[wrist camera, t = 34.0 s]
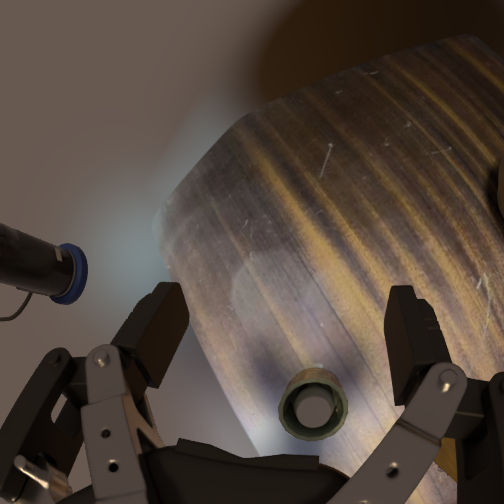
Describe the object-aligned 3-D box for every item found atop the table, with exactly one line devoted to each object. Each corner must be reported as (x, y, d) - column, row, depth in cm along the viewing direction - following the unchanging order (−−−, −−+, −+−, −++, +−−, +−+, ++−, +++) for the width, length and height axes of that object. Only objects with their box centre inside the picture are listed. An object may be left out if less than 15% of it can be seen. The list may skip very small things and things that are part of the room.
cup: (301, 427, 32) (296, 451, 25) (277, 382, 34) (266, 397, 27) (350, 403, 32) (359, 421, 24) (326, 357, 34) (329, 365, 26)
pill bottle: (298, 377, 34) (293, 390, 26) (334, 379, 33) (338, 392, 25) (295, 410, 32) (289, 430, 25) (330, 412, 32) (333, 433, 24)
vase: (454, 469, 25) (496, 512, 11) (425, 462, 27) (463, 510, 13) (476, 433, 26) (528, 465, 12) (448, 424, 27) (498, 460, 14)
